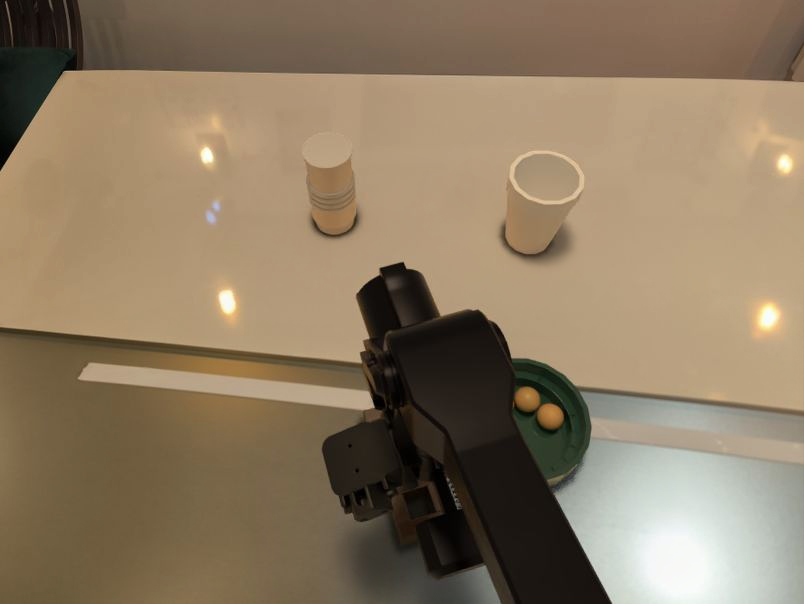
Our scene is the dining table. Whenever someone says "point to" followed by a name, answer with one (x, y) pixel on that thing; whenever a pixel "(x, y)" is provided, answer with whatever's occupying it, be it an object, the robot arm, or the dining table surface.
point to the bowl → (565, 443)
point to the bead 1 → (527, 399)
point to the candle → (330, 181)
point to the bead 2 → (550, 416)
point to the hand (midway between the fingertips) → (422, 476)
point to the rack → (398, 501)
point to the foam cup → (540, 198)
